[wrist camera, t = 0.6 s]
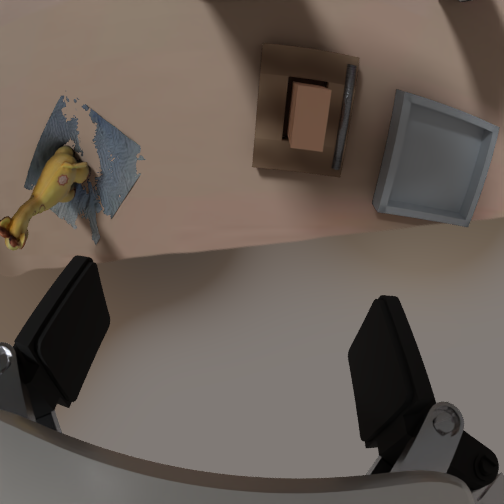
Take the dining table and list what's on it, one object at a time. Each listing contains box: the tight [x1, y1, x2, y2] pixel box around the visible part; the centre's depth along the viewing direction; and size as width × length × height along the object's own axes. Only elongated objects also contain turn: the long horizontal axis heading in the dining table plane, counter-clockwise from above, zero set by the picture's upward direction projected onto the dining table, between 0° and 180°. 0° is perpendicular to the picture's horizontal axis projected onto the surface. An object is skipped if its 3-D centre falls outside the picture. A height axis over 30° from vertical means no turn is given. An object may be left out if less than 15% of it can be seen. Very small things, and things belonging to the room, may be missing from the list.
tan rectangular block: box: [287, 81, 332, 152], centre depth 28 cm, size 6×3×7 cm, turn 176°
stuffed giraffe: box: [0, 95, 146, 250], centre depth 30 cm, size 16×18×16 cm
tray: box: [372, 89, 500, 227], centre depth 32 cm, size 15×15×2 cm
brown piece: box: [252, 43, 359, 177], centre depth 30 cm, size 14×10×2 cm
